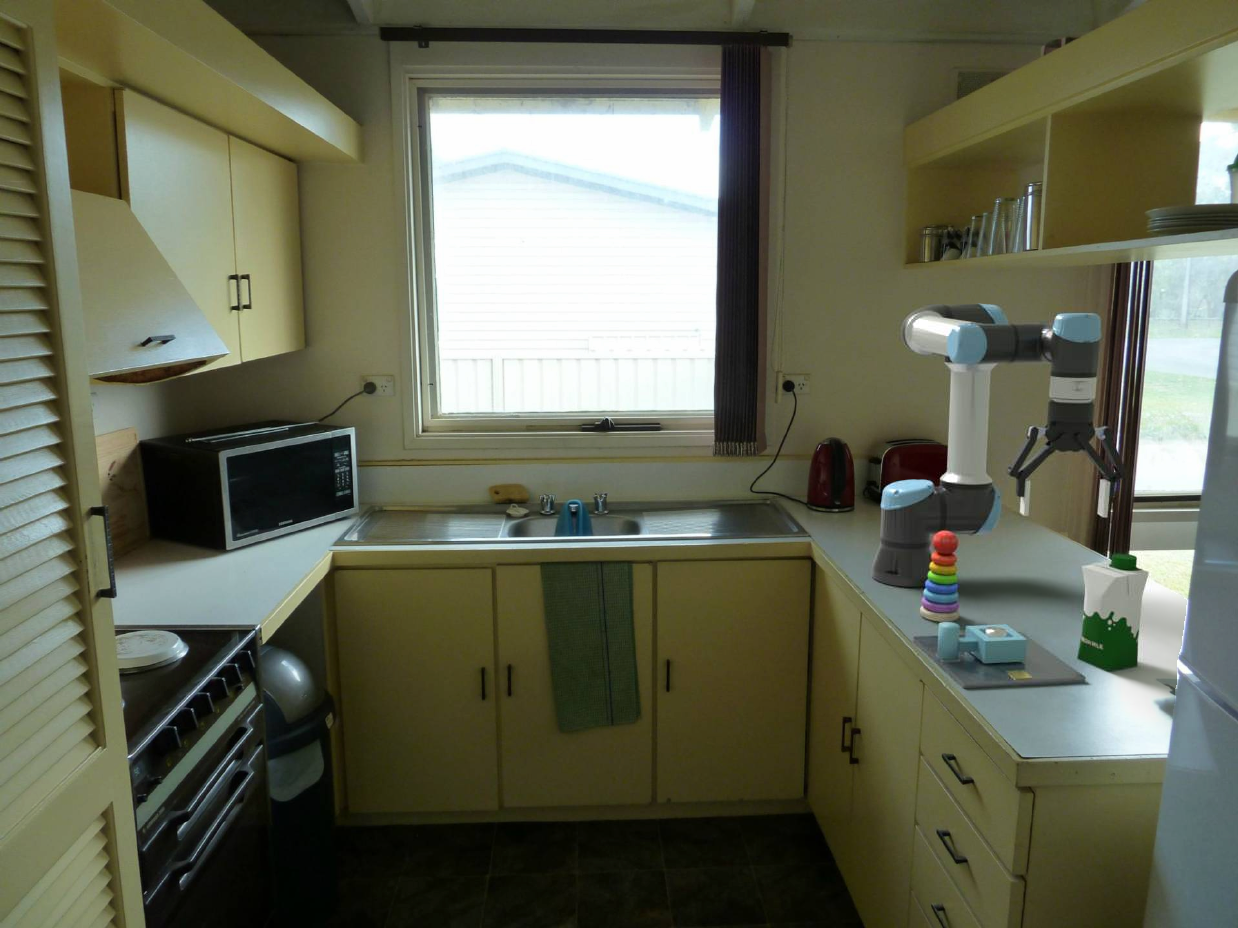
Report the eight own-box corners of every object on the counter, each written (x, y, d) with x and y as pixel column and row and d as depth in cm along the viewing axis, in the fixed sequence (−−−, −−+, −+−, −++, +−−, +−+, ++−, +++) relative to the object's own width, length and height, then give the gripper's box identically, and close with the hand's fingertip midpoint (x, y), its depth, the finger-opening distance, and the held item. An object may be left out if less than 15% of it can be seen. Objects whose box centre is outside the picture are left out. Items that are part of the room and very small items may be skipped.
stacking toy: (921, 621, 191) (925, 534, 187) (918, 609, 198) (922, 525, 195) (961, 624, 189) (966, 536, 186) (956, 611, 197) (961, 527, 193)
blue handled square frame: (929, 648, 173) (930, 618, 172) (1004, 645, 174) (1006, 615, 173) (947, 664, 165) (948, 633, 164) (1025, 661, 166) (1027, 629, 165)
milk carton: (1145, 667, 166) (1155, 561, 163) (1108, 674, 163) (1117, 566, 160) (1105, 650, 174) (1113, 548, 171) (1068, 657, 171) (1076, 554, 168)
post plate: (913, 641, 180) (914, 612, 179) (1020, 636, 182) (1022, 607, 181) (963, 688, 158) (965, 655, 157) (1085, 682, 160) (1087, 649, 159)
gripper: (1004, 402, 163) (997, 518, 167) (1154, 402, 159) (1144, 521, 163) (993, 397, 170) (987, 508, 174) (1137, 397, 166) (1127, 511, 170)
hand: (1062, 515), depth 168 cm, fingers open, 13 cm apart
